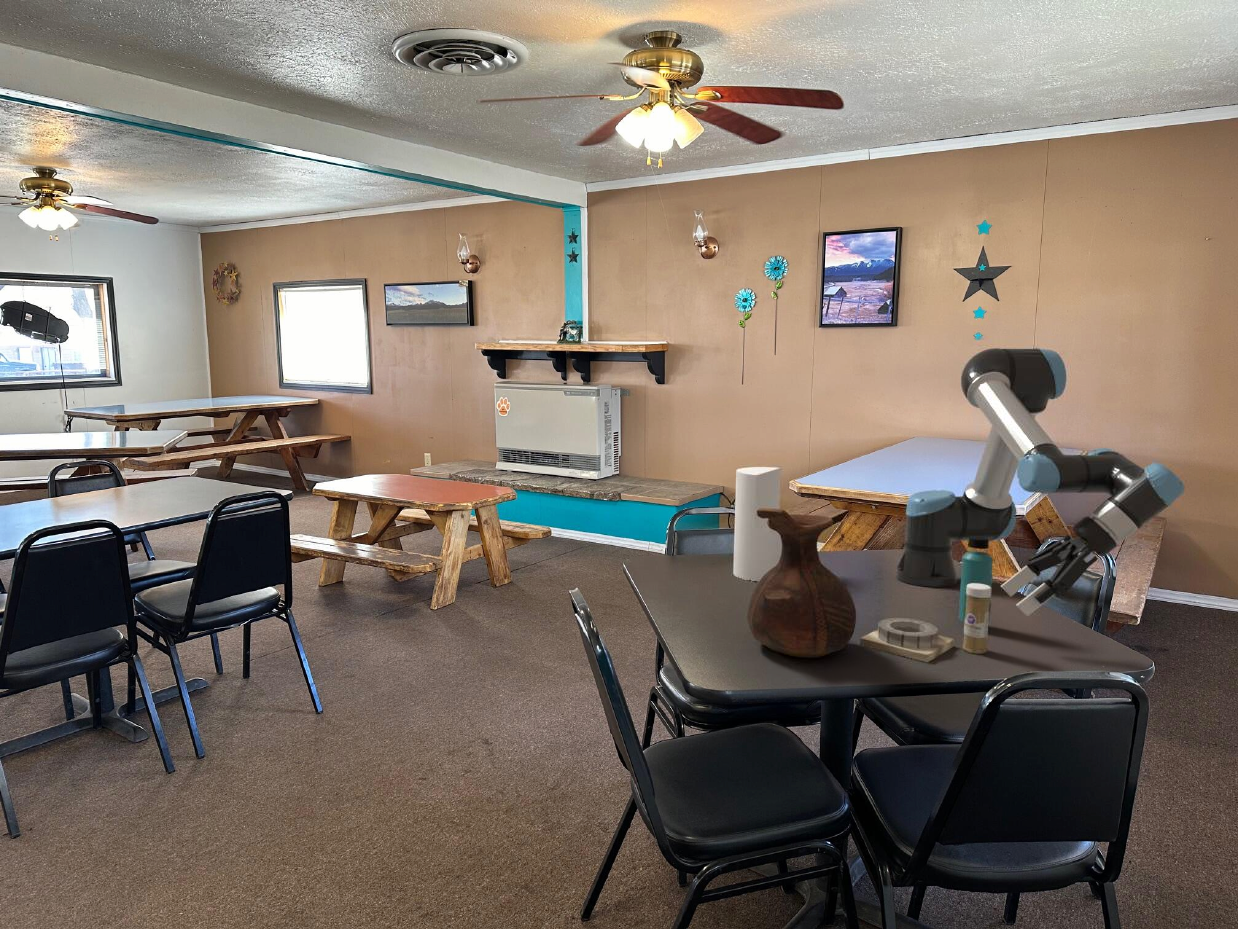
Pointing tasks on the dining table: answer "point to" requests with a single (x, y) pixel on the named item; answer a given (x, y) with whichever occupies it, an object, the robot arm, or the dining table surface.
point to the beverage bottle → (974, 570)
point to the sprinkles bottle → (976, 618)
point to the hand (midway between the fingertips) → (1013, 600)
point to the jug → (800, 593)
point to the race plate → (909, 651)
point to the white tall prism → (755, 522)
